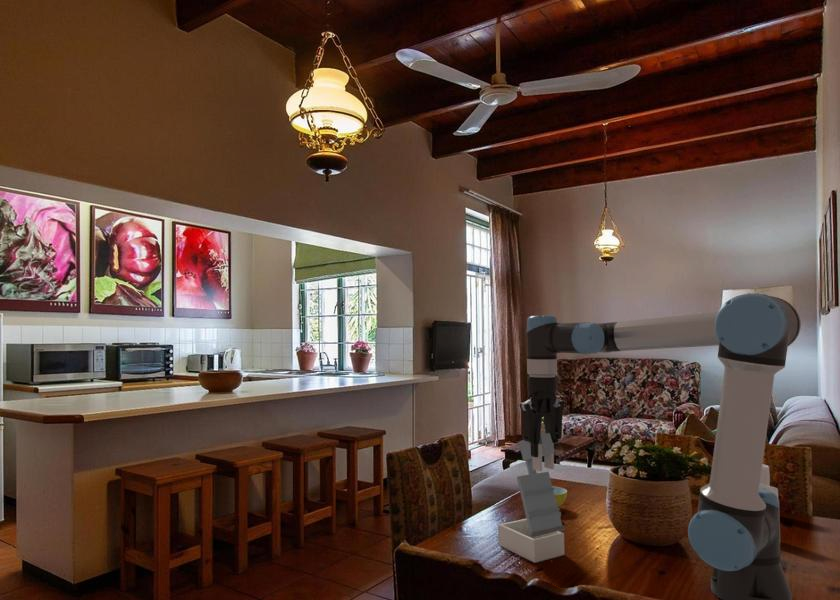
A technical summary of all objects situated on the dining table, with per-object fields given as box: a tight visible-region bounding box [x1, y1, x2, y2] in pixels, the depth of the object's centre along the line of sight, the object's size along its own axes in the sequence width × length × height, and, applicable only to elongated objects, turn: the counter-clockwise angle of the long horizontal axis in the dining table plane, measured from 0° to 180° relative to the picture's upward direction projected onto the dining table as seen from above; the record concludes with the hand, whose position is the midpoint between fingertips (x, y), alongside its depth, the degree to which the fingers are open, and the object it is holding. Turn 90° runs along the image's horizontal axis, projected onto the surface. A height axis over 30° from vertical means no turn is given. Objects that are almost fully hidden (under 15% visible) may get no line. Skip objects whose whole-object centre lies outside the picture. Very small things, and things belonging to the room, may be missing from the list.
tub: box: [497, 518, 565, 563], centre depth 148 cm, size 14×10×6 cm
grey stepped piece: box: [516, 432, 566, 537], centre depth 144 cm, size 23×11×9 cm
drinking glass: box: [760, 464, 771, 491], centre depth 181 cm, size 7×7×15 cm
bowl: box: [552, 485, 568, 508], centre depth 185 cm, size 11×12×6 cm
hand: (543, 468), depth 145 cm, fingers closed on grey stepped piece, 3 cm apart
